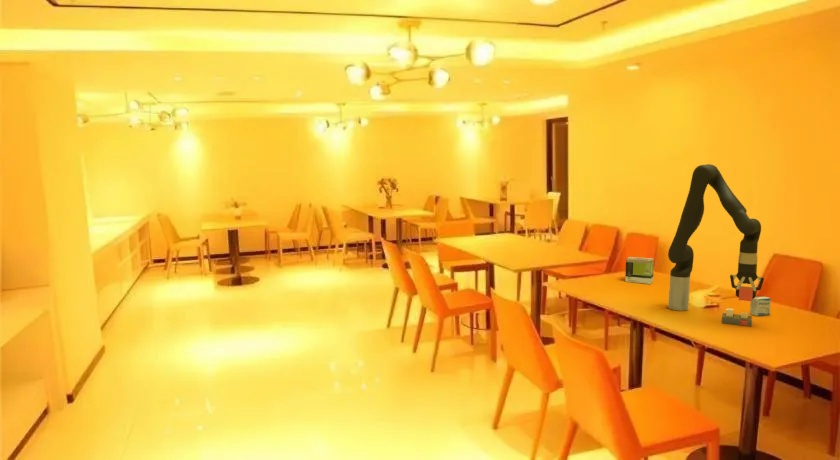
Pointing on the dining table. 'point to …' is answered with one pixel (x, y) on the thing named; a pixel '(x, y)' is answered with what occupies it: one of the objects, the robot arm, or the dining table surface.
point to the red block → (745, 293)
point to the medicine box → (760, 306)
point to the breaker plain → (729, 312)
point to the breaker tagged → (744, 315)
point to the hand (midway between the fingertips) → (745, 297)
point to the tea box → (639, 270)
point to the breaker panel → (736, 320)
